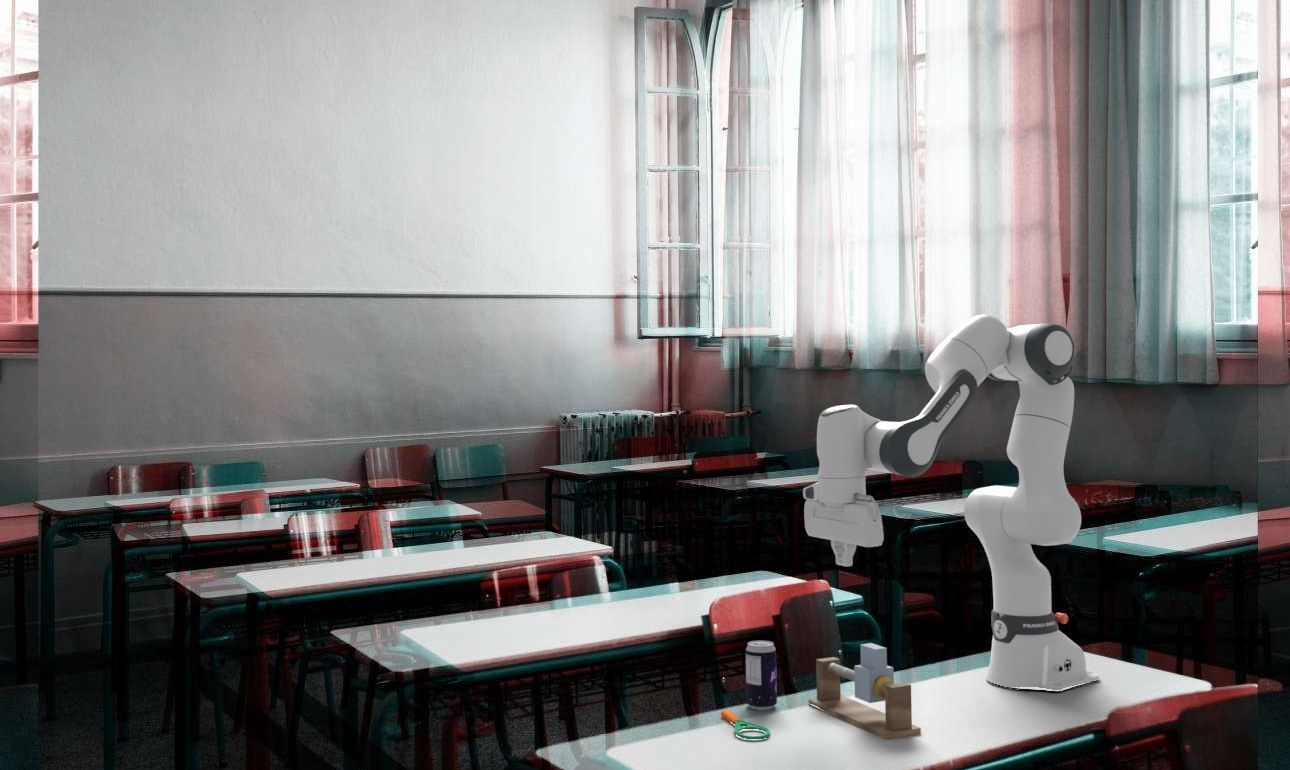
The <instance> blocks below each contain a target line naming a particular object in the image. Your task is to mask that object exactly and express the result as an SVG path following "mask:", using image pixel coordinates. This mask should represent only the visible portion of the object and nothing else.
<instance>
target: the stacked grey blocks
mask: <svg viewBox="0 0 1290 770" xmlns="http://www.w3.org/2000/svg"><path fill="white" fill-rule="evenodd" d="M887 649H888V648H887V647H884V646H881V645H879V644H875V643H872V642H869V643H861V644H860V664H858V665H857V664H856V665H854V668H853V670H854V675H855V681H854V698H856V699H859V700H862V701H864V702H867V703H869V704H872V703H879V702H885V698H882V697H879V696H877V695H876V694H875V693H874V689H873V685H874V682H875V679H877V678H878V677H880V676H885V677H888V678H890V679H891V680H892V681H893V683H894V681H895V680H894V673H895V672H894V667H893V666H890V665H888V659H887V658H888V651H887ZM894 684H895V683H894Z"/></svg>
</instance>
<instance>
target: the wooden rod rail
mask: <svg viewBox="0 0 1290 770" xmlns="http://www.w3.org/2000/svg"><path fill="white" fill-rule="evenodd" d="M815 665H816V698H809V699H808V704H809V703H810V704H813V705H815V706H817V707H819V708H820V709H822V710H824V711H826V712H828V713H830V714H829V715H830V716H833V717H835V718H838V719H840V720H842V721H844V722H846V723H849V724H851V725H854V726H856V727H858V728H861V729H862V730H865V731H867V732H870V733H872V734H874V735H876V736H878V737H881V738H883V739H886V740H893V739H894V740H895V739H899V738H905V737H911V736H915V735H921V734H922V729H921V727H919V726H917V725H915V724H912V723H913V722H912V721H913V718H912V711H913V710H912V684H910V683H907V682H905V681H904V682H897V683H893V681H892V680H891V679H890V678H888V677H885V676H880V677H878V678H877V679H875V682H874V685H873V689H874V693H875V694H876V695H877V696H879V697H882V698H885V701H884V703H885V704H884V706H885V708H884V709H885V710H884V711H885V712H882V711H880V710H877V709H875V708H873V707H871V706H868V705H866V704H863V703H861V702H858V701H856V700H853V699H851V698H849V697H847V696H844V695H841V693H842V692H841V678H845V679H847V680H850V681H852V682H855V675H854V669H851V668H848V667H845V666H843V665H841V659H840V658H839V657H835V656H832V657H831V656H830V657H824V658H816V660H815ZM822 710H821V711H822ZM824 711H823V712H824ZM826 712H825V713H826ZM828 713H827V714H828Z"/></svg>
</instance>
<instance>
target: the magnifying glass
mask: <svg viewBox="0 0 1290 770" xmlns="http://www.w3.org/2000/svg"><path fill="white" fill-rule="evenodd" d="M720 716H721V717H722V718H723V720H725V719H726V720H725V721H726V722H728V721H729V722H732V723H733V724H735V726H734V735H735V734H737V735H738V736H740V737H742V738H746V739H764V738H768V737H769V736H770V737H771V730H770V729H769V728H768V727H765V726H763V725H760V724H756V723H754V722H749V721H746V720H743V719H741V718H740V717H739V716H737V715H736V714H735V713H733V712H732V711H731V710H730V709H723V710H721V712H720ZM729 722H728V723H729ZM743 726H745V727H743ZM742 729H759V730H763V731H765V732H766V734H764V733H763V734H761V735H744V734H742V733H739V731H740V730H742ZM770 737H769V738H770ZM769 738H768V739H769Z"/></svg>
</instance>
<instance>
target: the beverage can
mask: <svg viewBox="0 0 1290 770" xmlns="http://www.w3.org/2000/svg"><path fill="white" fill-rule="evenodd" d="M745 682H746V683H745V685H746V687H745V688H746V689H745V690H746V693H745V696H746V698H745V699H746V704H747V705H748V706H749V707H750V708H751V709H752V710H755V709H757V710H756V711H769V710H772V709H773V708H774V706H775V705H777V703H778V692H777V690H778V689H777V685H778V684H777V650H776V647H775V644H774V642H773V641H770V640H752V641H749V642H747V646H746V649H745Z"/></svg>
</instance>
